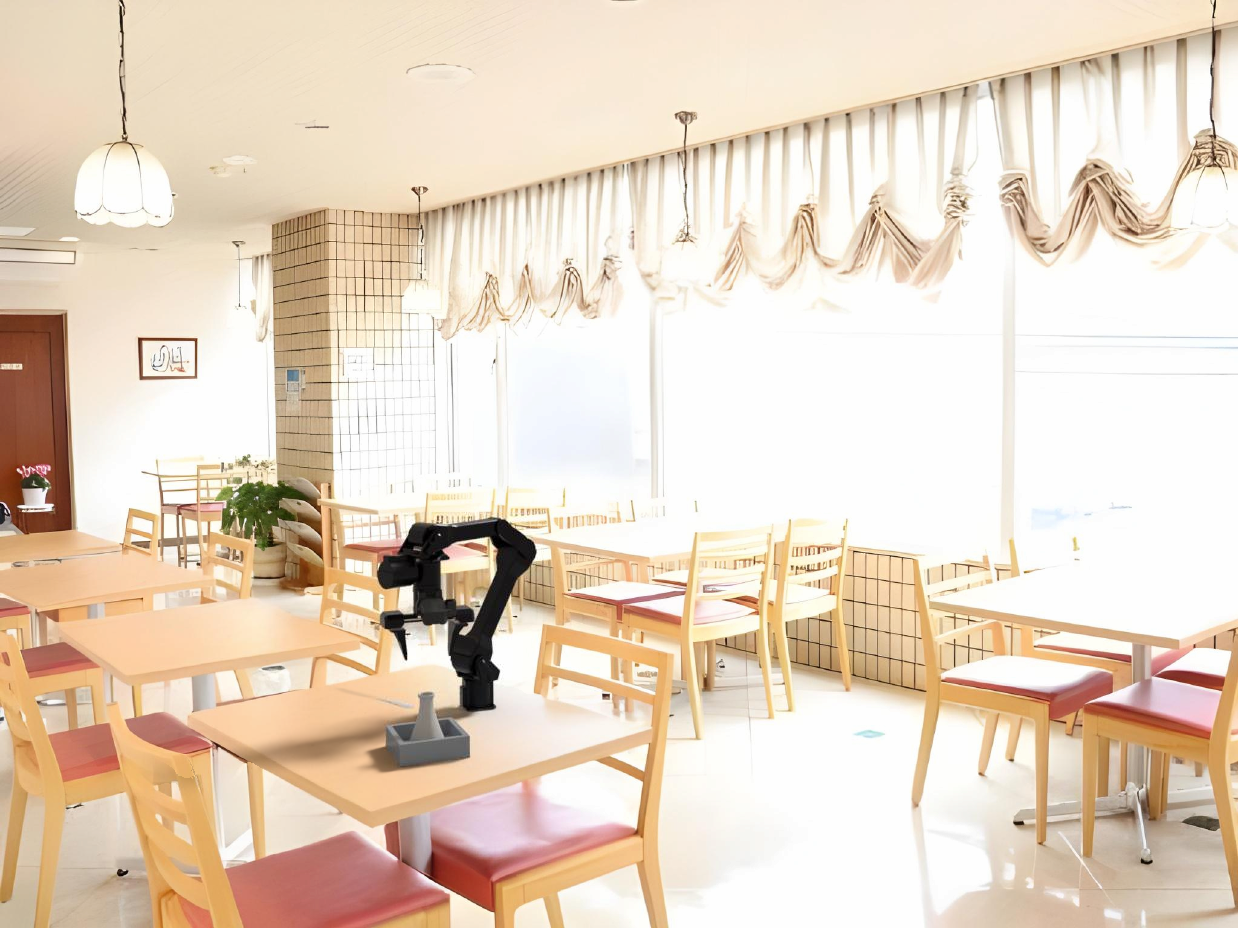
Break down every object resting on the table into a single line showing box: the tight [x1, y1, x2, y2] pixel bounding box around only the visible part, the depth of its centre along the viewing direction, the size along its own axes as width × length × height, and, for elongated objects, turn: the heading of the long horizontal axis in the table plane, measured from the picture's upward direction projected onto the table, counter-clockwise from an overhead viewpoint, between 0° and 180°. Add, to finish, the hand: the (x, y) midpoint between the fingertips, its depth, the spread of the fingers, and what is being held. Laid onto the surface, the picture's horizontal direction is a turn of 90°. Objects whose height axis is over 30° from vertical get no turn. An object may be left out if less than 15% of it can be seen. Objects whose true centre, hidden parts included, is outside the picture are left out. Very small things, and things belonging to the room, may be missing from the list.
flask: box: [409, 691, 444, 742], centre depth 198 cm, size 7×7×10 cm
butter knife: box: [376, 697, 415, 709], centre depth 236 cm, size 1×27×3 cm
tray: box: [385, 716, 471, 768], centre depth 198 cm, size 13×13×4 cm
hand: (427, 657), depth 218 cm, fingers open, 9 cm apart
